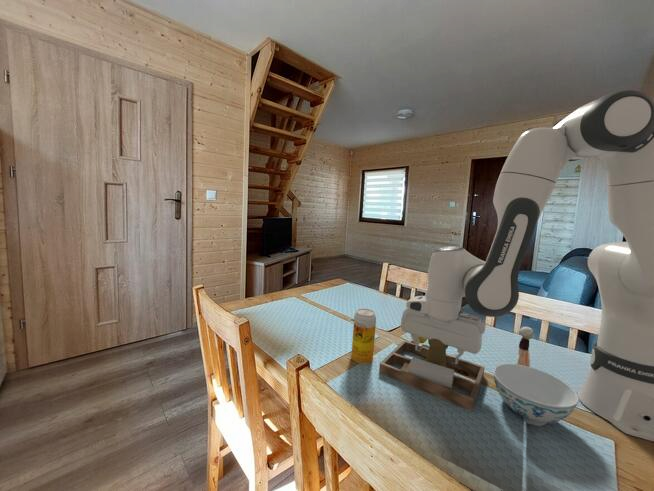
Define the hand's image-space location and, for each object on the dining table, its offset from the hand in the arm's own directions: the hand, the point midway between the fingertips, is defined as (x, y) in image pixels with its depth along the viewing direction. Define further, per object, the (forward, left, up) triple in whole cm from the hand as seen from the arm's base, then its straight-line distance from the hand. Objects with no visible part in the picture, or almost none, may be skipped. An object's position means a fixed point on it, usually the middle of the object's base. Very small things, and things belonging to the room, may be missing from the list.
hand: (436, 356), depth 77 cm
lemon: (+9, -14, -5) cm, 17 cm away
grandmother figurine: (-19, -20, -5) cm, 28 cm away
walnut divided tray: (0, +3, -5) cm, 6 cm away
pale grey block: (0, +8, -4) cm, 9 cm away
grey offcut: (-1, +8, -2) cm, 8 cm away
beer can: (+18, +8, -5) cm, 20 cm away
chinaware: (-21, +2, -5) cm, 22 cm away
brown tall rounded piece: (0, 0, -5) cm, 5 cm away
